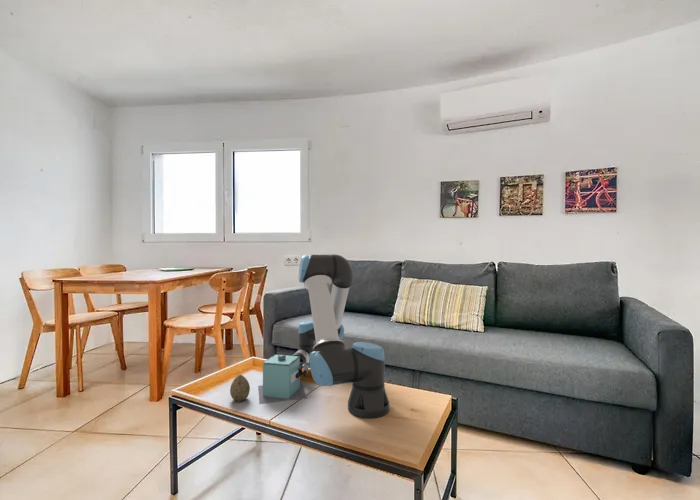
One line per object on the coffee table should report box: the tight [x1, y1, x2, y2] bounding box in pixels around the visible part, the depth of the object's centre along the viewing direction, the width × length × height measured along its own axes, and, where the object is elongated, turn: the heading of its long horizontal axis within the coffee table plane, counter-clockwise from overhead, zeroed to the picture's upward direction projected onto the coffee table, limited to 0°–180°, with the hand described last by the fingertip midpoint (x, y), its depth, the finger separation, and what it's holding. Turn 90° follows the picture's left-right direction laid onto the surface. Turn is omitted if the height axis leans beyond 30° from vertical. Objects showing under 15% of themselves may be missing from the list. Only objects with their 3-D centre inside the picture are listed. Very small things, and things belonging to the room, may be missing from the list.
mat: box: [257, 381, 308, 405], centre depth 138 cm, size 18×18×1 cm
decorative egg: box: [229, 374, 251, 402], centre depth 130 cm, size 7×7×10 cm
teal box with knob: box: [262, 354, 301, 399], centre depth 138 cm, size 11×11×14 cm
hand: (277, 377), depth 134 cm, fingers closed on teal box with knob, 11 cm apart
